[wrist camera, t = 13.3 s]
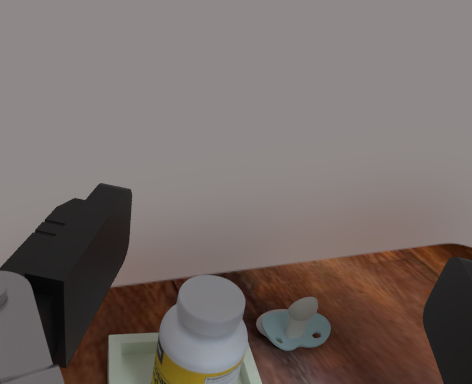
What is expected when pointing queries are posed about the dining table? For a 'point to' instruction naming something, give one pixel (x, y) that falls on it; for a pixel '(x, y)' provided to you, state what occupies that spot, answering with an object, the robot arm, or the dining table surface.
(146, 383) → the dish
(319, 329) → the pacifier
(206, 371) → the pill bottle
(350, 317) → the dining table surface
